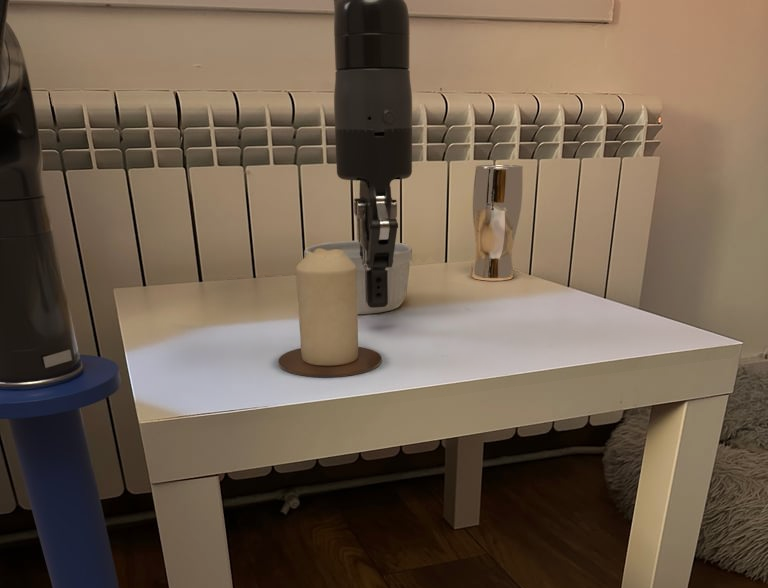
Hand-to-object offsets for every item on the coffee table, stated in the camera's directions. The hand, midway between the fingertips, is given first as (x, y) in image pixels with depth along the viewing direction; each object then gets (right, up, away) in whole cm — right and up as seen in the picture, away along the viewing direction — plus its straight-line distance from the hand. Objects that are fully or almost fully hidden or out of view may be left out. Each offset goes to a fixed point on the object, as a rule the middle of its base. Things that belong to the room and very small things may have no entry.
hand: (376, 305), depth 79 cm
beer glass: (+17, +13, +30) cm, 36 cm away
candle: (-4, -8, -8) cm, 12 cm away
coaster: (-4, -8, -8) cm, 12 cm away
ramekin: (-2, +4, +14) cm, 14 cm away
